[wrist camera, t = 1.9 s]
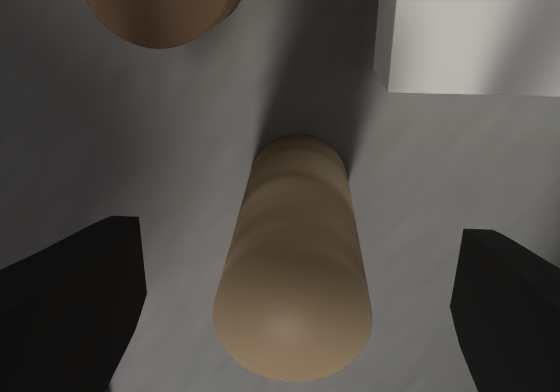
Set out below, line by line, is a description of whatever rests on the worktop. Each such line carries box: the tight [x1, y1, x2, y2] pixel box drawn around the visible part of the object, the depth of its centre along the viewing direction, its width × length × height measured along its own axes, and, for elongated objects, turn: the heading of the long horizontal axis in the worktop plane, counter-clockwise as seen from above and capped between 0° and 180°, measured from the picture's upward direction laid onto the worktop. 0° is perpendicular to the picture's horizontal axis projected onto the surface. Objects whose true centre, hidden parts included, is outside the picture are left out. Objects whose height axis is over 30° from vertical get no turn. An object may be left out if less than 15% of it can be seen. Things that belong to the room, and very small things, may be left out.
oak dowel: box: [213, 135, 372, 382], centre depth 13 cm, size 3×3×7 cm
